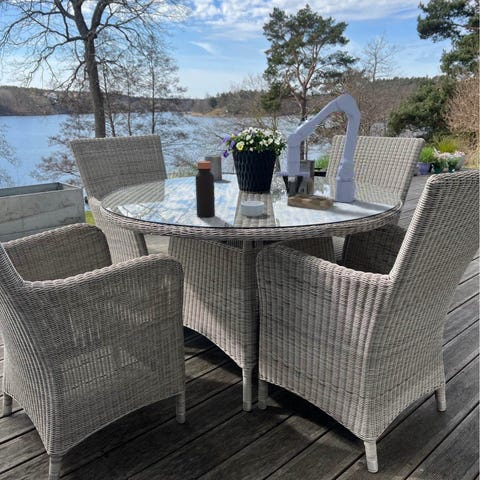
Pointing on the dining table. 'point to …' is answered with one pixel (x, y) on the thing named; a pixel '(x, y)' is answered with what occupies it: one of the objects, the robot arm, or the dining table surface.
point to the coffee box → (307, 178)
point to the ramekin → (252, 208)
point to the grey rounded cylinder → (292, 188)
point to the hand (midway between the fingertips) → (292, 193)
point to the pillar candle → (215, 166)
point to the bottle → (205, 190)
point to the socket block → (310, 202)
